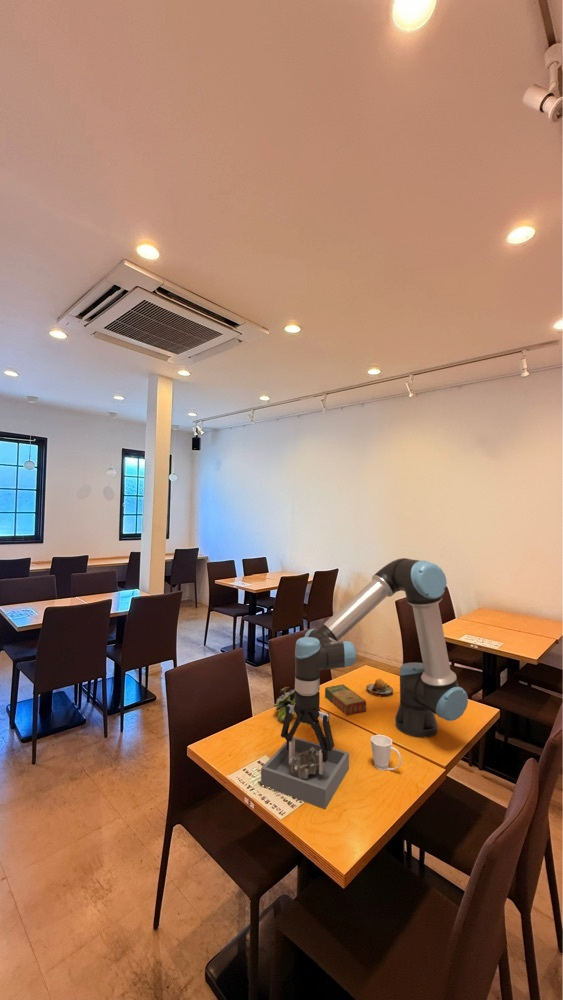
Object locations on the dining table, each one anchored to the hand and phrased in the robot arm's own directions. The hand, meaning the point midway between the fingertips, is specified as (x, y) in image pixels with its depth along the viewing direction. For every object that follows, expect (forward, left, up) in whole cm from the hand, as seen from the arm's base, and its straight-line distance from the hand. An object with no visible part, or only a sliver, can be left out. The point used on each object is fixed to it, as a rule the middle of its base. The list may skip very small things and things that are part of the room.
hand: (306, 766), depth 123 cm
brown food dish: (-4, -72, -4) cm, 72 cm away
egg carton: (0, 0, -1) cm, 1 cm away
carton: (+6, -52, -4) cm, 53 cm away
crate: (0, 0, -3) cm, 3 cm away
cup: (-20, -16, -3) cm, 26 cm away
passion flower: (+21, -32, -3) cm, 38 cm away
